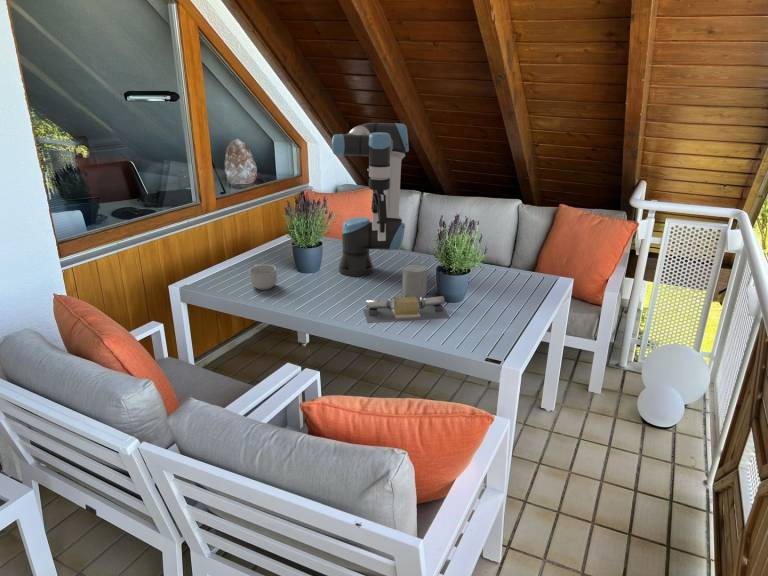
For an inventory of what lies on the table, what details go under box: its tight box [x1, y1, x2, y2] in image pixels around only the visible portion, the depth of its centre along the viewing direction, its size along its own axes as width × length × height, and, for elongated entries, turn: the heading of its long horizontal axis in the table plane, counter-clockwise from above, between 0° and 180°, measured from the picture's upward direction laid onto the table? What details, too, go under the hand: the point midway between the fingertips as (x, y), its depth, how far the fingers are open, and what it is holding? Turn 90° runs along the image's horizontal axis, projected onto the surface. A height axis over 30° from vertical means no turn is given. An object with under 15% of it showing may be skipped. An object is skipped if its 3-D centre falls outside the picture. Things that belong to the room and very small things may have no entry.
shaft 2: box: [417, 295, 445, 312], centre depth 212 cm, size 9×4×6 cm, turn 110°
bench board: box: [363, 305, 451, 324], centre depth 210 cm, size 12×30×1 cm, turn 100°
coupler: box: [393, 296, 419, 316], centre depth 209 cm, size 8×5×5 cm, turn 97°
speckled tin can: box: [401, 263, 428, 300], centre depth 226 cm, size 10×10×12 cm
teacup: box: [248, 264, 278, 291], centre depth 235 cm, size 14×11×8 cm
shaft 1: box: [365, 298, 392, 316], centre depth 209 cm, size 9×4×6 cm, turn 90°
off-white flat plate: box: [392, 309, 420, 318], centre depth 210 cm, size 7×9×1 cm
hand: (378, 235), depth 213 cm, fingers open, 13 cm apart
